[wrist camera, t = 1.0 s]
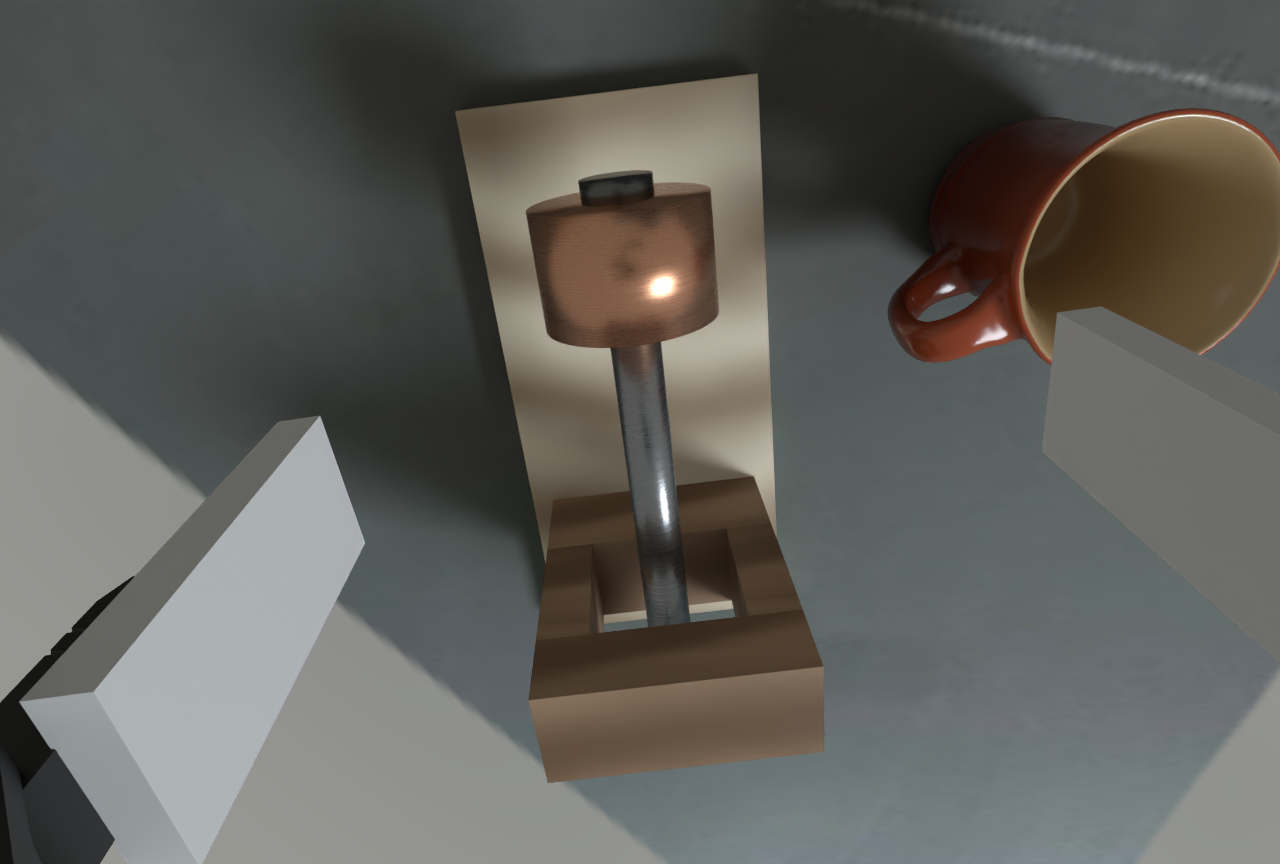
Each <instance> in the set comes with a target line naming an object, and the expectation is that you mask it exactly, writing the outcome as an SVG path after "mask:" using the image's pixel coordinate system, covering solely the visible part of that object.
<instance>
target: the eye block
mask: <svg viewBox="0 0 1280 864" xmlns="http://www.w3.org/2000/svg"><path fill="white" fill-rule="evenodd" d="M676 489H677V498H678V508H679V518H680V527H681V537H682V546H683V556H684V565H685V575H686V584H687V594H688V603H689V605H696V604H705V603H713V602H722V601H731V600H732V605H733V609H734V613H735V617H733V618H725V619H716V620H708V621H699V622H690V623H682V624H673V625H664V626H656V627H647V628H638V629H630V630H621V631H612V632H604V615H610V614H619V613H627V612H636V611H644V610H646V607H645V600H644V593H643V585H642V578H641V571H640V563H639V556H638V549H637V541H636V534H635V527H634V519H633V512H632V504H631V497H630V491H625V492H617V493H608V494H600V495H591V496H583V497H574V498H566V499H557V500H553V507H552V515H551V523H550V531H549V540H548V548H547V556H546V564H545V572H544V580H543V588H542V596H541V604H540V612H539V620H538V628H537V636H536V645H535V653H534V661H533V669H532V677H531V685H530V693H529V704H530V709H531V713H532V717H533V721H534V726H535V730H536V734H537V738H538V743H539V747H540V751H541V755H542V760H543V764H544V768H545V772H546V777H547V781H548V783H552V782H561V781H570V780H579V779H587V778H596V777H605V776H614V775H623V774H631V773H640V772H649V771H658V770H667V769H676V768H684V767H693V766H702V765H711V764H720V763H728V762H737V761H746V760H755V759H764V758H773V757H781V756H790V755H799V754H808V753H817V752H824V671H823V664H822V661H821V658H820V656H819V653H818V650H817V648H816V645H815V642H814V639H813V637H812V634H811V631H810V628H809V626H808V623H807V620H806V617H805V615H804V612H803V609H802V606H801V604H800V601H799V598H798V596H797V593H796V590H795V587H794V585H793V582H792V579H791V576H790V574H789V571H788V568H787V565H786V563H785V560H784V557H783V554H782V552H781V549H780V546H779V544H778V541H777V538H776V535H775V533H774V530H773V527H772V524H771V522H770V519H769V516H768V513H767V511H766V508H765V505H764V502H763V500H762V497H761V494H760V492H759V489H758V486H757V483H756V481H755V478H754V476H752V477H744V478H735V479H727V480H719V481H710V482H702V483H693V484H685V485H676Z"/></svg>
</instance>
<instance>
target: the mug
mask: <svg viewBox="0 0 1280 864" xmlns="http://www.w3.org/2000/svg"><path fill="white" fill-rule="evenodd" d="M929 229H930V236H931V240H932V244H933V247H934V250H935V253H934V254H933V255H932V256H930V257H929V258H928V259H927V260H926V261H925V262H924V263H923V264H922V265H921V266H920V267H919V268H918V269H917V270H916V271H915V272H914V273H913V274H912V275H911V276H910V277H909V278H908V279H907V280H906V281H905V282H904V283H903V284H902V285H901V286H900V287H899V288H898V289H897V290H896V291H895V293H894V294H893V296H892V297H891V300H890V302H889V306H888V320H889V323H890V326H891V329H892V331H893V334H894V336H895V338H896V340H897V341H898V343H899V344H900V346H901V347H902V348H903V349H904V350H905V351H906V352H907V353H908V354H909V355H911V356H912V357H914V358H916V359H917V360H920V361H923V362H933V363H936V362H946V361H951V360H955V359H958V358H961V357H964V356H967V355H969V354H972V353H974V352H977V351H979V350H982V349H984V348H988V347H991V346H996V345H1001V344H1005V343H1007V342H1010V341H1013V340H1015V339H1024V340H1026V341H1027V342H1028V343H1029V344H1030V346H1031V347H1032V348H1033V350H1034V351H1035V352H1036V353H1037V355H1038V356H1039V357H1040V358H1041V359H1043V360H1044V361H1045V362H1047V363H1048V364H1050V365H1051V364H1052V355H1053V346H1054V337H1055V328H1056V319H1057V313H1058V312H1065V311H1072V310H1079V309H1086V308H1093V307H1100V306H1102V307H1104V308H1106V309H1108V310H1110V311H1112V312H1114V313H1116V314H1118V315H1120V316H1122V317H1124V318H1126V319H1128V320H1130V321H1132V322H1134V323H1136V324H1138V325H1140V326H1142V327H1144V328H1147V329H1149V330H1151V331H1153V332H1155V333H1157V334H1159V335H1161V336H1163V337H1165V338H1167V339H1169V340H1171V341H1173V342H1175V343H1177V344H1179V345H1181V346H1183V347H1185V348H1187V349H1189V350H1192V351H1194V352H1196V353H1198V354H1200V355H1203V354H1204V353H1206V352H1207V351H1208V350H1210V349H1211V348H1213V347H1214V346H1216V345H1217V344H1218V343H1219V342H1221V341H1222V340H1223V339H1224V338H1225V337H1227V336H1228V335H1229V334H1230V333H1231V332H1232V331H1233V330H1234V329H1235V328H1236V327H1237V326H1238V325H1239V324H1240V323H1241V322H1242V321H1243V320H1244V319H1245V318H1246V317H1247V316H1248V314H1249V313H1250V312H1251V311H1252V310H1253V308H1254V307H1255V306H1256V305H1257V303H1258V302H1259V300H1260V299H1261V297H1262V296H1263V295H1264V293H1265V292H1266V290H1267V288H1268V287H1269V285H1270V283H1271V282H1272V280H1273V278H1274V276H1275V274H1276V272H1277V270H1278V268H1279V265H1280V154H1279V153H1278V151H1277V150H1276V148H1275V147H1274V145H1273V144H1272V143H1271V142H1270V141H1269V139H1268V138H1267V137H1266V136H1265V135H1264V134H1263V133H1262V132H1260V131H1259V130H1258V129H1257V128H1256V127H1254V126H1252V125H1251V124H1249V123H1248V122H1246V121H1244V120H1242V119H1240V118H1238V117H1235V116H1233V115H1230V114H1227V113H1224V112H1220V111H1215V110H1209V109H1195V108H1190V109H1175V110H1169V111H1163V112H1159V113H1155V114H1151V115H1147V116H1144V117H1141V118H1139V119H1136V120H1133V121H1130V122H1128V123H1125V124H1123V125H1121V126H1118V127H1111V126H1106V125H1101V124H1095V123H1089V122H1081V121H1074V120H1070V119H1065V118H1059V117H1043V118H1036V119H1030V120H1026V121H1023V122H1020V123H1015V124H1010V125H1006V126H1002V127H999V128H997V129H994V130H992V131H990V132H988V133H986V134H984V135H982V136H981V137H979V138H977V139H976V140H975V141H973V142H972V143H970V144H969V145H968V146H967V147H966V148H965V149H963V150H962V151H961V152H960V153H959V154H958V155H957V157H956V158H955V159H954V160H953V161H952V162H951V164H950V165H949V167H948V168H947V169H946V171H945V173H944V174H943V176H942V178H941V180H940V182H939V184H938V186H937V189H936V191H935V194H934V197H933V200H932V204H931V208H930V213H929ZM967 292H969V293H971V294H972V295H974V296H977V297H978V298H977V299H976V300H975V301H974V302H973V303H972V304H970V305H969V306H968V307H966V308H965V309H963V310H961V311H959V312H957V313H955V314H953V315H951V316H948V317H946V318H943V319H940V320H936V321H931V322H923V321H919V320H917V319H918V318H919V316H920V315H921V314H922V313H923V312H924V311H925V310H926V309H927V308H928V307H930V306H931V305H933V304H934V303H936V302H939V301H941V300H944V299H946V298H950V297H953V296H956V295H959V294H963V293H967Z"/></svg>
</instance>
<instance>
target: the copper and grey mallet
mask: <svg viewBox="0 0 1280 864" xmlns="http://www.w3.org/2000/svg"><path fill="white" fill-rule="evenodd" d="M578 184H579V192H578V193H573V194H568V195H564V196H560V197H556V198H552V199H549V200H545V201H542V202H540V203H537V204H535V205H533V206H531V207H529V208H528V209H527V210H526V217H527V223H528V229H529V234H530V240H531V246H532V252H533V257H534V263H535V269H536V275H537V281H538V286H539V292H540V298H541V304H542V310H543V315H544V321H545V327H546V332H547V334H548V336H549V337H550V338H552V339H553V340H555V341H557V342H560V343H563V344H567V345H571V346H577V347H587V348H610V350H611V358H612V365H613V372H614V380H615V387H616V394H617V402H618V409H619V416H620V424H621V431H622V438H623V446H624V453H625V460H626V468H627V475H628V482H629V490H630V497H631V504H632V512H633V519H634V527H635V534H636V541H637V549H638V556H639V563H640V571H641V578H642V585H643V593H644V600H645V607H646V615H647V622H648V627H656V626H664V625H673V624H682V623H690V613H689V603H688V594H687V584H686V575H685V565H684V556H683V546H682V537H681V527H680V518H679V508H678V498H677V489H676V479H675V470H674V460H673V451H672V441H671V432H670V422H669V413H668V403H667V394H666V384H665V375H664V365H663V356H662V346H661V342H662V341H667V340H671V339H674V338H678V337H681V336H684V335H687V334H690V333H693V332H695V331H697V330H700V329H702V328H703V327H705V326H707V325H708V324H710V323H711V322H713V321H714V320H715V319H716V318H717V316H718V314H719V299H718V284H717V270H716V255H715V241H714V227H713V212H712V198H711V188H710V187H708V186H706V185H702V184H696V183H681V182H668V183H654V181H653V172H652V171H648V170H631V171H619V172H611V173H604V174H599V175H594V176H589V177H585V178H582V179H580V180H578Z"/></svg>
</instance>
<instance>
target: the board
mask: <svg viewBox="0 0 1280 864" xmlns="http://www.w3.org/2000/svg"><path fill="white" fill-rule="evenodd" d="M455 114H456V119H457V124H458V129H459V134H460V139H461V144H462V149H463V154H464V159H465V164H466V169H467V174H468V179H469V184H470V189H471V194H472V199H473V204H474V209H475V214H476V219H477V224H478V229H479V234H480V239H481V244H482V249H483V254H484V259H485V264H486V269H487V274H488V279H489V284H490V289H491V294H492V299H493V304H494V309H495V313H496V318H497V323H498V328H499V333H500V338H501V343H502V348H503V353H504V358H505V363H506V368H507V373H508V378H509V383H510V388H511V393H512V398H513V403H514V408H515V413H516V418H517V423H518V428H519V433H520V438H521V443H522V448H523V453H524V458H525V463H526V468H527V473H528V478H529V483H530V488H531V493H532V498H533V503H534V508H535V513H536V518H537V523H538V528H539V533H540V538H541V543H542V548H543V553H544V558H545V563H546V556H547V548H548V540H549V531H550V523H551V515H552V507H553V500H557V499H566V498H574V497H583V496H591V495H600V494H608V493H617V492H625V491H630V490H629V482H628V475H627V468H626V460H625V453H624V446H623V438H622V431H621V424H620V416H619V409H618V402H617V394H616V387H615V380H614V372H613V365H612V358H611V350H610V348H587V347H577V346H571V345H567V344H563V343H560V342H557V341H555V340H553V339H552V338H550V337H549V336H548V334H547V332H546V327H545V321H544V315H543V310H542V304H541V298H540V292H539V286H538V281H537V275H536V269H535V263H534V257H533V252H532V246H531V240H530V234H529V229H528V223H527V217H526V210H527V209H528V208H529V207H531V206H533V205H535V204H537V203H540V202H542V201H545V200H549V199H552V198H556V197H560V196H564V195H568V194H573V193H578V192H579V184H578V180H580V179H582V178H585V177H589V176H594V175H599V174H604V173H611V172H619V171H631V170H648V171H652V172H653V181H654V183H668V182H681V183H696V184H702V185H706V186H708V187H710V188H711V198H712V212H713V227H714V241H715V255H716V270H717V284H718V299H719V314H718V316H717V318H716V319H715V320H714V321H713V322H711V323H710V324H708V325H707V326H705V327H703V328H702V329H700V330H697V331H695V332H693V333H690V334H687V335H684V336H681V337H678V338H674V339H671V340H667V341H662V342H661V346H662V356H663V365H664V375H665V384H666V394H667V403H668V413H669V422H670V432H671V441H672V451H673V460H674V470H675V479H676V485H685V484H693V483H702V482H710V481H719V480H727V479H735V478H744V477H752V476H754V478H755V481H756V483H757V486H758V489H759V492H760V494H761V497H762V500H763V502H764V505H765V508H766V511H767V513H768V516H769V519H770V522H771V524H772V527H773V530H774V533H775V535H776V538H777V534H776V509H775V485H774V460H773V436H772V411H771V387H770V362H769V338H768V313H767V289H766V264H765V240H764V215H763V190H762V166H761V141H760V117H759V92H758V74H746V75H738V76H730V77H722V78H714V79H706V80H698V81H690V82H682V83H674V84H666V85H657V86H649V87H641V88H633V89H625V90H617V91H609V92H601V93H593V94H585V95H577V96H569V97H561V98H553V99H545V100H537V101H529V102H521V103H513V104H504V105H496V106H488V107H480V108H472V109H464V110H458V111H455ZM726 609H733V605H732V600H731V601H722V602H713V603H705V604H696V605H689V613H690V614H691V613H700V612H708V611H717V610H726ZM639 619H647V615H646V610H644V611H636V612H627V613H619V614H610V615H604V624H605V623H613V622H622V621H631V620H639Z"/></svg>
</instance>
